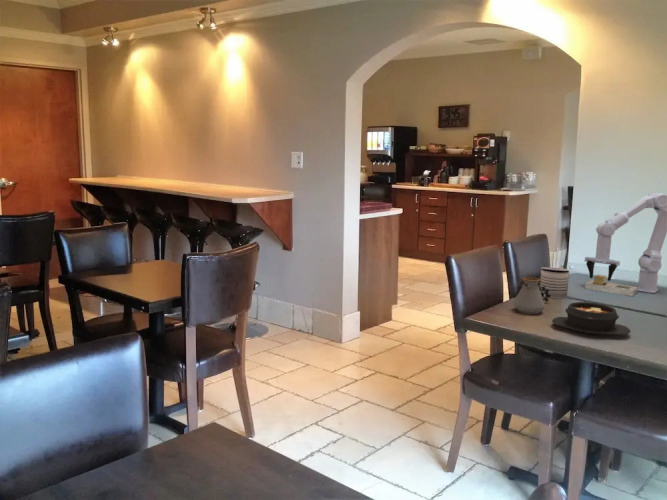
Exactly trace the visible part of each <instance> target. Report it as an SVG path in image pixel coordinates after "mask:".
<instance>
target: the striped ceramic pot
mask: <svg viewBox="0 0 667 500" xmlns="http://www.w3.org/2000/svg"><path fill="white" fill-rule="evenodd" d="M540 269H541V271H540V278H539V279H540V281H539V287H540V288H541V289H542V287H545V290H547V289H549V292H548V294H550V295H551V297H548V298H551V299H565V298H567V297H568V289H569V278H570V269H566V268H561V267H548V266H546V267H545V266H544V267H542V268H540ZM541 292H544V293H546V292H545V291H541ZM545 297H546V294H545V296H544V298H545Z"/></svg>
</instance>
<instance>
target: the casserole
mask: <svg viewBox="0 0 667 500" xmlns="http://www.w3.org/2000/svg"><path fill="white" fill-rule="evenodd" d="M565 313H566V314H567V316H557V317H555V318H553V319H551V320H552V321H551V322H552V323H553V324H554V325H556V326H558V327H562V328H567V329H570V330H573V331H574V332H578V333H580V334H585V335H588V336H590V335H591V336H605V335H606V336H607V335H615V336H616V335H617V336H625V335H629V334H630V333H631V329H630V328H629V327H628V326H626V325H622V324H619V323H616V322H617V320H618V319H619V318H620V316H619V315H618V313H617V310H616V309H615V308H614V307H612V306H609V305H606V304H601V303H596V302H588V301H587V302H586V301H581V302H580V301H578V302H577V301H576V302H571V303H569V304H568V306H567V307H566V308H565Z"/></svg>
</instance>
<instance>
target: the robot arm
mask: <svg viewBox="0 0 667 500" xmlns="http://www.w3.org/2000/svg"><path fill="white" fill-rule="evenodd" d="M645 209H654V211H655V212H656V214H657V217H656V221H655V224H654V227H653V230H652V233H651V236H650V239H649V242H648V245H647V248H646V249H645V250H644V251H643V253H642V255H641V256H640V257H639V258H638V260H637V261H638V262H637V263H638V266H639V268H640V269H639V273H638V274H639V275H638V284H637V287H638V292H644V293H651V294H655V293H657V292H658V291H659V289H660V288H658V280H659V276H658V275H659V270H661V269H662V259H663V257H662V253H661V251H662V248H663V245H664V243H665V239H666V235H667V194H666V193H660V192H656V191H652V192H649V193H648V194H647V195H645V196H643V197H642V198H641V199H639V200H638V201H636V202H635V203H634V204H633V205H632V206H630V207H629V208H628V209H626V210H625V211H624V212H623V211H622V212H621V211H619V212H615V213H614V215H613V216H611V217H610V218H608V219H605V222H601V223H599V224H598V225H597V227H596V229H595V231H596V233H597V240H596V248H595V257H592V256H591V257H590V256H585V257H584V262H586V263H585V265H586V266H587V269H588V274H589V278H590V279H594V269H595V264H604V265H608V275H607V282H610V281H612V280H611V279H612V277H613V274H614V273H615V270H616V269H617V268H618V267H619V266H620V264H621V261H620V260H615V259H610V256H611V255H610V254H611V245H612V236H613V235H614V234H615V232H616V231H617V230H619V229H620V228H621V227H623V226H625V225H626V224H627V223H629V219H630V218H632V217H633V216H635V215H636V214H638V213H640V212H642V211H643V210H645Z"/></svg>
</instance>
